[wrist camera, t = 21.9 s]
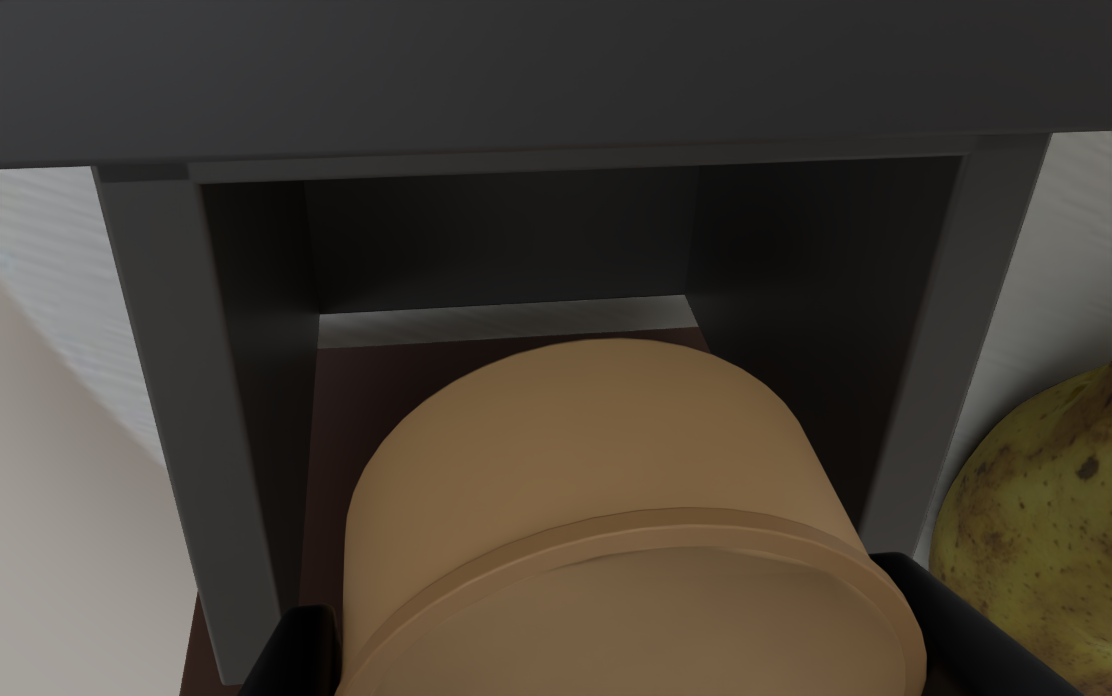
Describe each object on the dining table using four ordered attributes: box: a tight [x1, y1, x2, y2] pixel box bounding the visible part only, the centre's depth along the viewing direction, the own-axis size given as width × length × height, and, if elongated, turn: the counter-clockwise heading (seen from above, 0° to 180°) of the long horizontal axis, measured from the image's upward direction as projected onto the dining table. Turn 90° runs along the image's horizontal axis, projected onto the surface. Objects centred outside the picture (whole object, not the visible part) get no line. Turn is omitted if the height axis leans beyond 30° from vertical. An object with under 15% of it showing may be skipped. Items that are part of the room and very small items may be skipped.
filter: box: [335, 338, 927, 696], centre depth 10 cm, size 5×5×2 cm
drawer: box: [91, 133, 1053, 696], centre depth 16 cm, size 14×10×9 cm
